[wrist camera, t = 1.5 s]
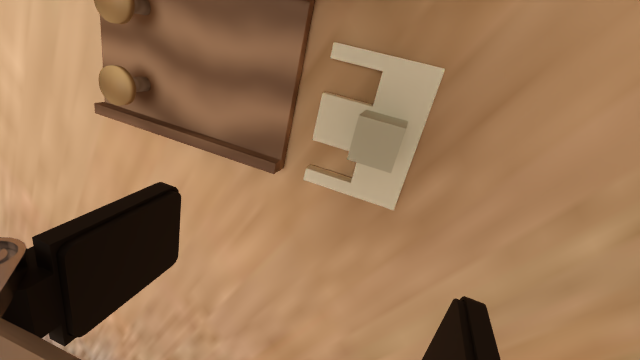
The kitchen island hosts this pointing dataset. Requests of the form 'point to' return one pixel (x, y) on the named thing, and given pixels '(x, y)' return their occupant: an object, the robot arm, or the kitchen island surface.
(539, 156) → the kitchen island surface
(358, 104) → the panel
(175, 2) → the board
